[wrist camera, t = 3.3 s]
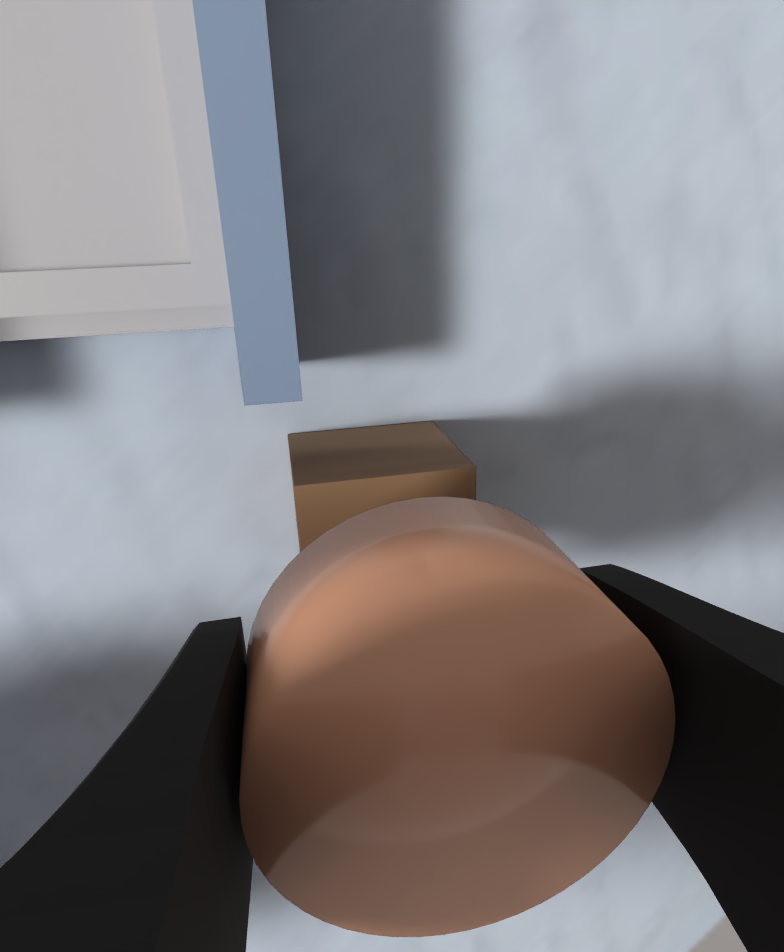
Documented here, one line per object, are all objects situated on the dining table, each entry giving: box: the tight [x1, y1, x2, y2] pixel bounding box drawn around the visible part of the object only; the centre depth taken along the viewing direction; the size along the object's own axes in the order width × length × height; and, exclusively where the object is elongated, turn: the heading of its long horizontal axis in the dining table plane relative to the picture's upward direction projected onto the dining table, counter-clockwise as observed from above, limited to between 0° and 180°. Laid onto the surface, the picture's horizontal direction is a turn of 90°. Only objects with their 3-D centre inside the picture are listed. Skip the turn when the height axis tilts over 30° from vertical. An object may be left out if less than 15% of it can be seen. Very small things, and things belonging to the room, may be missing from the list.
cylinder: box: [239, 497, 675, 937], centre depth 8 cm, size 5×5×2 cm
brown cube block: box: [288, 421, 476, 552], centre depth 14 cm, size 4×4×4 cm
